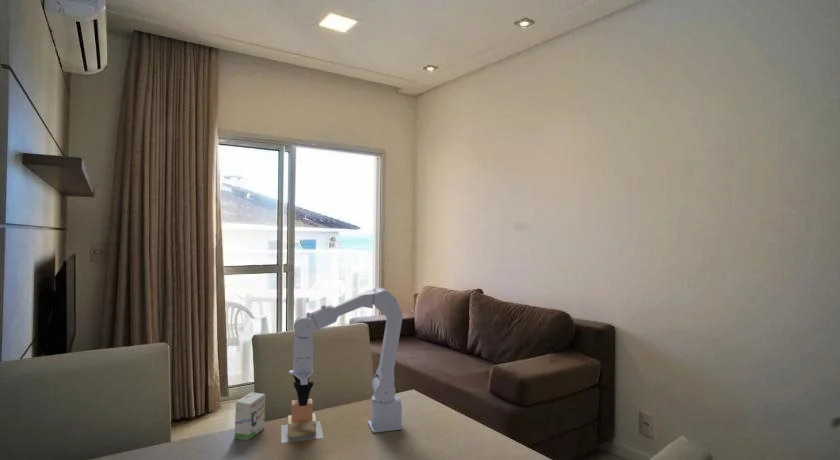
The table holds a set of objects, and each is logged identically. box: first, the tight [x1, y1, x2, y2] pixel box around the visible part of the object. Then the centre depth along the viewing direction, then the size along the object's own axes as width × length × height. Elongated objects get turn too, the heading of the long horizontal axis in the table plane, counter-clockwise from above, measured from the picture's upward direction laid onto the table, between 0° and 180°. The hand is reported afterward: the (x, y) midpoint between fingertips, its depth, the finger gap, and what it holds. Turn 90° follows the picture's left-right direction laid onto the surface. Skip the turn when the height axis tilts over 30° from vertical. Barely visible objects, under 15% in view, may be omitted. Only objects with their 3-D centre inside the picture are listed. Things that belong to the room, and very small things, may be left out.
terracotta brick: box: [291, 398, 314, 422], centre depth 136 cm, size 6×4×5 cm, turn 107°
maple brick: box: [287, 412, 317, 437], centre depth 136 cm, size 8×6×4 cm
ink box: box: [233, 391, 266, 441], centre depth 134 cm, size 9×5×12 cm, turn 168°
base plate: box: [280, 420, 324, 444], centre depth 136 cm, size 12×12×1 cm
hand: (302, 400), depth 136 cm, fingers open, 7 cm apart
